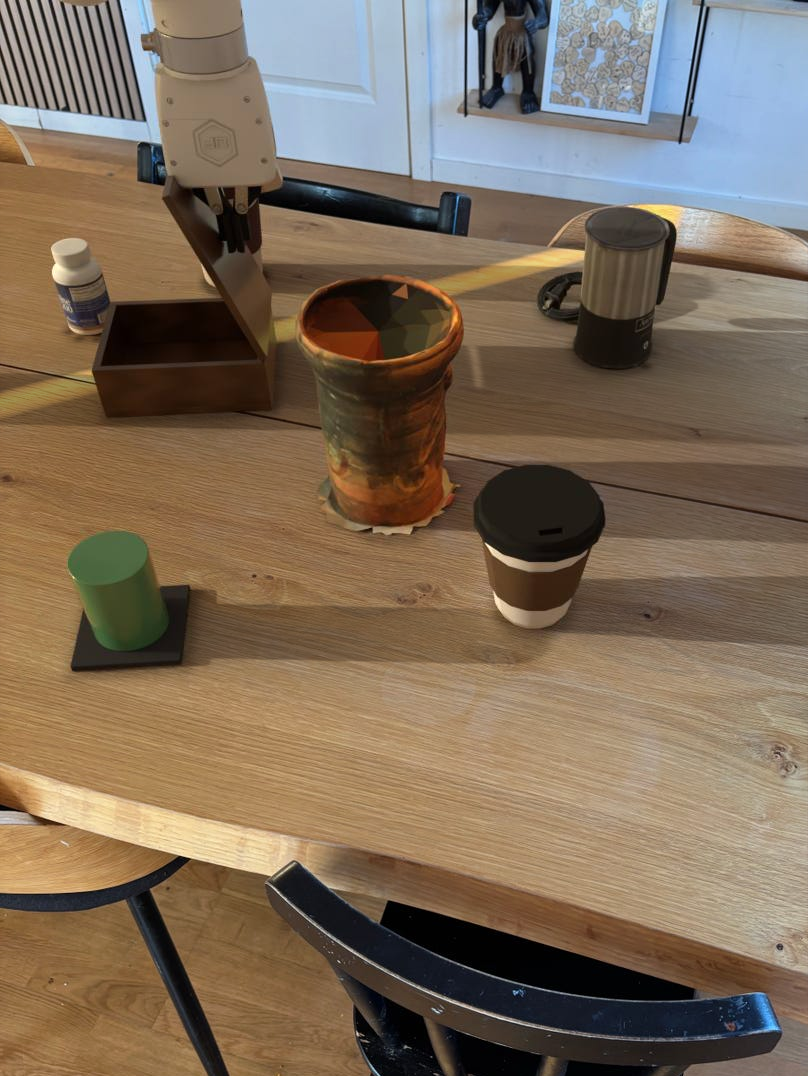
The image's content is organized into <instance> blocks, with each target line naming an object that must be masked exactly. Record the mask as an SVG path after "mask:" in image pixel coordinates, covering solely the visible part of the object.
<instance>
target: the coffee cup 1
mask: <svg viewBox="0 0 808 1076" xmlns="http://www.w3.org/2000/svg"><path fill="white" fill-rule="evenodd" d="M222 188H223V191H224V194H225V197H226V198H227V199H228V201H229V202H230V204H232V207H233V200H234V198H235V187H222ZM248 215H249V221H250V228H251V240H249V241H246V245H247V247H248V249H249V250H250V252H251V254H252V256H253V258H254V259H255V261H256V263H257V265H258V266H259V268H260V270H261V272H262V273H264V267H263V255H262V245H263V236H262V234H263V233H262V221H261V209H260V199H259V196H258V197H257V198H256V200H255V201H254V202H253V203H252V204H251V205H250V207H249V208H248ZM200 265H201V269H202V271H203V276H204V279H205V281H206V282H207V283H208V284H209V285H210V286H212V287H214V288H216V287H215V285H214V283H213V282H212V280H211V278H210V277H209V275H208V274H207V272H206V270H205V269H204V267H203V265H202V264H201V263H200Z"/></svg>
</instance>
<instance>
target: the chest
mask: <svg viewBox="0 0 808 1076" xmlns="http://www.w3.org/2000/svg"><path fill="white" fill-rule="evenodd" d="M277 342H278V340H277V335H276V330H275V322H274V314H273V309H272V307H271V314H270V327H269V341H268V355H267V359H264V360H260V359H259V357H258V356H257V354H256V352H255V351H254V349H253V347H252V346H251V344H250V342H249V341H248V339H247V338H246V336H245V334H244V333H243V331H242V329H241V328H240V326H239V324H238V323H237V321H236V320H235V318H234V316H233V315H232V313H231V311H230V310H229V308H228V306H227V305H226V303H225V301H224V300H223V298H222V297H204V298H203V297H201V298H200V297H199V298H174V299H148V300H147V299H146V300H121V301H111V302H110V305H109V308H108V312H107V316H106V319H105V323H104V327H103V330H102V333H100V338H99V341H98V345H97V349H96V353H95V357H94V360H93V364H92V367H91V374H92V377H93V380H94V384H95V387H96V390H97V393H98V396H99V399H100V403H101V406H102V409H103V413H104V415H105V418H122V417H123V418H124V417H143V416H146V417H147V416H167V415H168V416H169V415H190V414H191V415H193V414H212V413H213V414H214V413H231V412H232V413H234V412H235V413H237V412H255V411H256V412H257V411H272V410H273V404H274V403H273V402H274V389H275V388H274V387H275V374H276V373H275V372H276V356H277Z"/></svg>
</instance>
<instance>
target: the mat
mask: <svg viewBox="0 0 808 1076" xmlns="http://www.w3.org/2000/svg"><path fill="white" fill-rule="evenodd" d="M160 587H161V590H162V593H163V596H164V600H165V603H166V606H167V609H168V613H169V624H168V627H167V629H166V631H165V632H164V634H163V635H162V636H161V637H160V638H159V639H158V640H156V641H155V642H153V643H152V644H150V645H148V646H146V647H144V648H141V649H137V650H133V651H115V650H111V649H108V648H106V647H104V646H103V645H101V644H100V643H99V642H98V641H97V640H96V638H95V636H94V633H93V631H92V628H91V626H90V623H89V621H88V618H87V616H86V613H85V611H84V608H83V607H82V612H81V617H80V621H79V627H78V631H77V634H76V640H75V645H74V649H73V652H72V653H73V654H72V657H71V662H70V670H71V671H72V672H80V671H82V672H83V671H96V670H112V669H113V670H114V669H115V670H116V669H128V668H129V669H130V668H145V667H161V666H162V667H163V666H176V665H182V661H183V654H184V652H183V651H184V645H185V637H186V629H187V622H188V613H189V606H190V599H191V598H190V597H191V585H190V584H176V585H160Z"/></svg>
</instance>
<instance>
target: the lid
mask: <svg viewBox="0 0 808 1076" xmlns="http://www.w3.org/2000/svg"><path fill="white" fill-rule="evenodd" d="M161 200H162V201H163V204H164V205H165V207H166V208H167V209H168V211H169V213H170V214H171V216H172V218H173V219H174V221H175V223H176V224H177V226H178V227H179V229H180V231H181V232H182V235H183V236H184V238H185V239H186V241H187V242H188V244H189V246H190V247H191V249H192V251H193V252H194V254H195V255H196V257H197V259H198V261H199V263H200V265H201V264H202V265H203V267H204V269H205V270H206V272H207V274H208V275H209V277H210V278H211V280H212V282H213V283H214V285H215V287H214V288H216V290H217V292H218V293H219V295H220V298H223V300H224V301H225V303H226V305H227V306H228V308H229V310H230V311H231V313H232V315H233V316H234V318H235V320H236V321H237V323H238V324H239V326H240V328H241V329H242V331H243V333H244V334H245V336H246V338H247V339H248V341H249V342H250V344H251V346H252V347H253V349H254V351H255V352H256V354H257V356H258V357H259V359H260V360H264V359H267V355H268V341H269V327H270V314H271V308H272V299H273V297H272V296H273V289H272V287H271V286H270V284H269V282H268V281H267V279H266V277H265V275H264V274H263V273H264V272H263V273H262V272H261V270H260V268H259V266H258V265H257V263H256V261H255V259H254V258H253V256H252V254H251V252H250V250H249V249H248V247H247V245H246V247H245V253H239V252H237V247H236V252H234V253H228V247H227V242H226V241H221V240H220V236H219V230H218V225H217V219H216V214H214V213H212V211H211V209H210V207H208V206H207V205H206V204H205V203H203V202H202V201H201V200H200V199H198V198H197V197H196V196H195V195H194V194H193V193H192V191H191V190H190V188H185V187H181V186H180V185H179V183H178V182H177V180H176V178H175V176H174V175H172V176H168V174H166V178H165V182H164V187H163V190H162V195H161ZM202 265H201V266H202Z"/></svg>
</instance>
